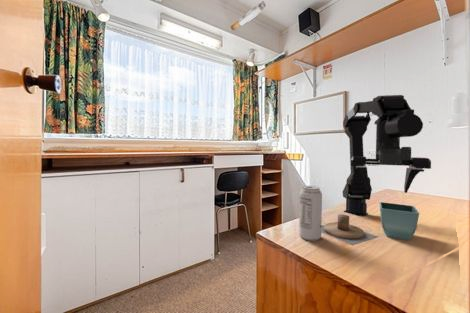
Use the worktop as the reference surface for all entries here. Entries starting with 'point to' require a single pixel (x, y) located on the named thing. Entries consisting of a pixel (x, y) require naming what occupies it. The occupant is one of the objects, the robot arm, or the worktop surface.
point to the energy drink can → (310, 213)
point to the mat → (352, 241)
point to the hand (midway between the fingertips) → (386, 191)
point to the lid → (343, 229)
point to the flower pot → (398, 220)
